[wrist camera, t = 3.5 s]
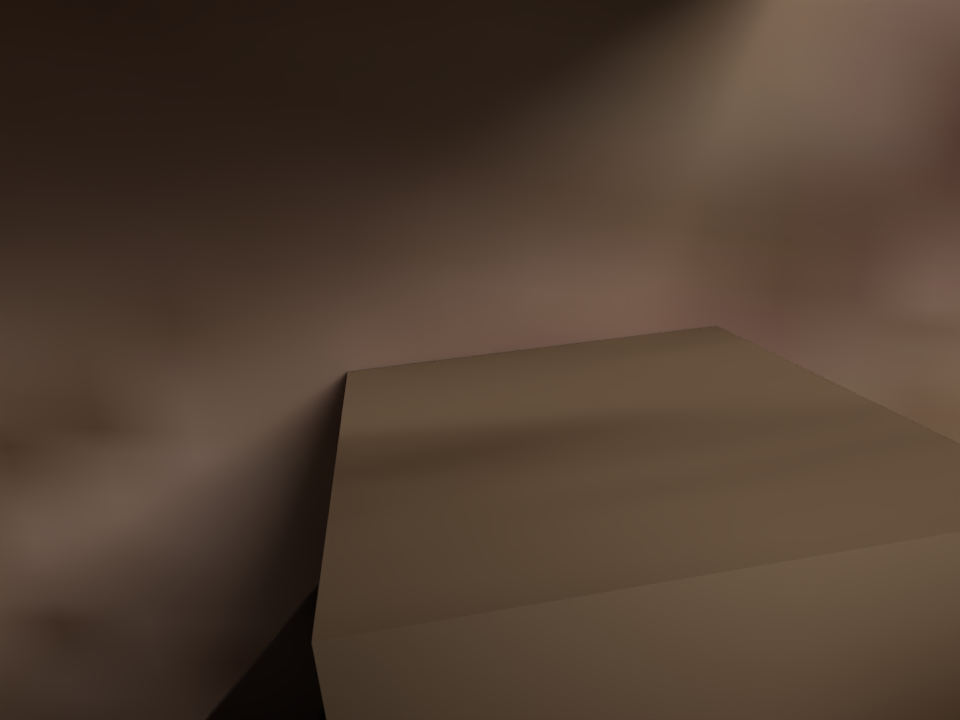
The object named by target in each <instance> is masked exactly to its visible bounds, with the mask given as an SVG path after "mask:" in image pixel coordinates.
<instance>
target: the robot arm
mask: <svg viewBox="0 0 960 720" xmlns="http://www.w3.org/2000/svg"><path fill="white" fill-rule="evenodd" d="M318 590H319V583H318V584H317V585H316V587H315V588H314V589H313V590H312V591H311V593H310V594H309V595H308V596H307V597H306V599H305V600H304V601H303V602H302V603H301V605H300V606H299V607H298V608H297V609H296V611H295V612H294V613H293V614H292V616H291V617H290V618H289V619H288V620H287V622H286V623H285V624H284V625H283V626H282V628H281V629H280V630H279V631H278V632H277V634H276V635H275V636H274V637H273V638H272V640H271V641H270V642H269V643H268V644H267V646H266V647H265V648H264V649H263V651H262V652H261V653H260V654H259V655H258V657H257V658H256V659H255V660H254V661H253V663H252V664H251V665H250V666H249V667H248V669H247V670H246V671H245V672H244V673H243V675H242V676H241V677H240V678H239V679H238V681H237V682H236V683H235V684H234V685H233V687H232V688H231V689H230V690H229V692H228V693H227V694H226V695H225V696H224V698H223V699H222V700H221V701H220V702H219V704H218V705H217V706H216V707H215V708H214V710H213V711H212V712H211V713H210V714H209V716H208V717H207V718H206V719H205V720H326V715H325V710H324V705H323V699H322V694H321V689H320V684H319V679H318V674H317V668H316V663H315V658H314V653H313V648H312V643H311V642H312V635H313V627H314V620H315V612H316V605H317V597H318Z"/></svg>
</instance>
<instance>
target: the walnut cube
mask: <svg viewBox="0 0 960 720" xmlns="http://www.w3.org/2000/svg"><path fill="white" fill-rule="evenodd" d="M311 643H312V648H313V653H314V658H315V663H316V668H317V674H318V679H319V684H320V689H321V694H322V699H323V705H324V710H325V715H326V720H960V444H959V443H957V442H955V441H953V440H951V439H949V438H947V437H944V436H942V435H940V434H938V433H936V432H934V431H932V430H930V429H928V428H926V427H924V426H922V425H920V424H918V423H916V422H914V421H912V420H909V419H907V418H905V417H903V416H901V415H899V414H897V413H895V412H893V411H891V410H889V409H887V408H885V407H883V406H881V405H879V404H877V403H874V402H872V401H870V400H868V399H866V398H864V397H862V396H860V395H858V394H856V393H854V392H852V391H850V390H848V389H846V388H844V387H842V386H839V385H837V384H835V383H833V382H831V381H829V380H827V379H825V378H823V377H821V376H819V375H817V374H815V373H813V372H811V371H809V370H807V369H805V368H802V367H800V366H798V365H796V364H794V363H792V362H790V361H788V360H786V359H784V358H782V357H780V356H778V355H776V354H774V353H772V352H770V351H767V350H765V349H763V348H761V347H759V346H757V345H755V344H753V343H751V342H749V341H747V340H745V339H743V338H741V337H739V336H737V335H735V334H732V333H730V332H728V331H726V330H724V329H722V328H720V327H718V326H714V327H706V328H698V329H690V330H682V331H674V332H665V333H657V334H649V335H641V336H633V337H625V338H617V339H609V340H601V341H593V342H585V343H577V344H569V345H560V346H552V347H544V348H536V349H528V350H520V351H512V352H504V353H496V354H488V355H480V356H472V357H464V358H455V359H447V360H439V361H431V362H423V363H415V364H407V365H399V366H391V367H383V368H375V369H367V370H359V371H350V372H348V373H347V380H346V388H345V395H344V403H343V410H342V418H341V425H340V433H339V440H338V448H337V455H336V463H335V470H334V477H333V485H332V492H331V500H330V507H329V515H328V522H327V530H326V537H325V545H324V552H323V560H322V567H321V575H320V582H319V590H318V597H317V605H316V612H315V620H314V627H313V635H312V642H311Z"/></svg>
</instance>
